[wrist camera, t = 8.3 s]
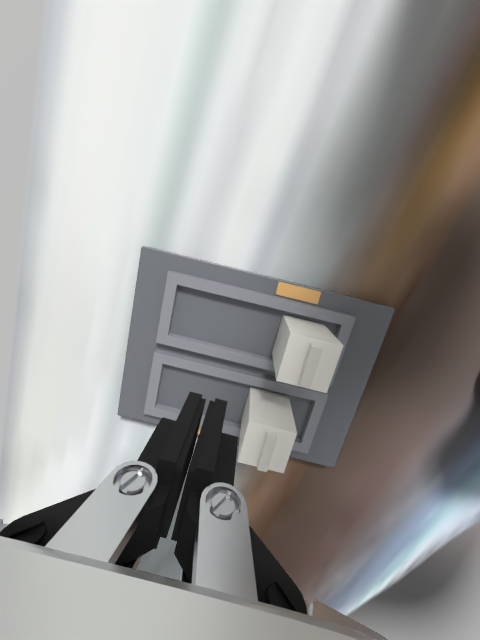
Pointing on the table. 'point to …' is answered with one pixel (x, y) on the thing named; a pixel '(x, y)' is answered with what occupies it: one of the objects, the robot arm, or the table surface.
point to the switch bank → (241, 347)
